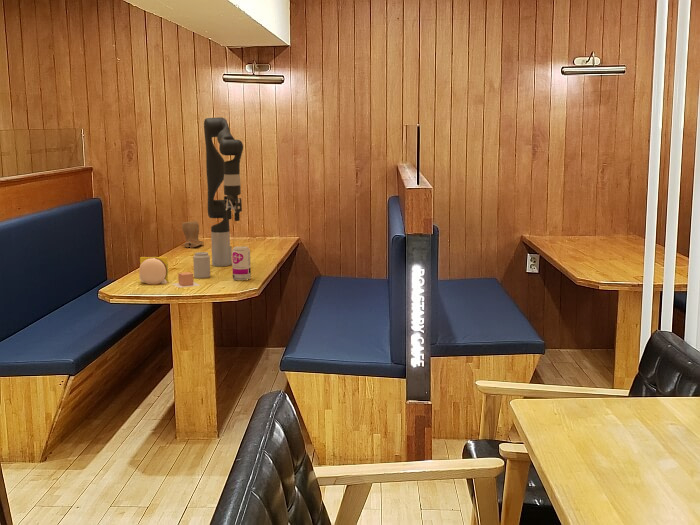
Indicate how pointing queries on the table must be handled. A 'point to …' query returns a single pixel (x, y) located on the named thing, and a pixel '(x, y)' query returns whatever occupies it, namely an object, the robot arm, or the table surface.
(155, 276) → the hamburger
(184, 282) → the block
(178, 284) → the pad
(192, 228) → the brown boot
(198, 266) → the can
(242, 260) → the supplement can
